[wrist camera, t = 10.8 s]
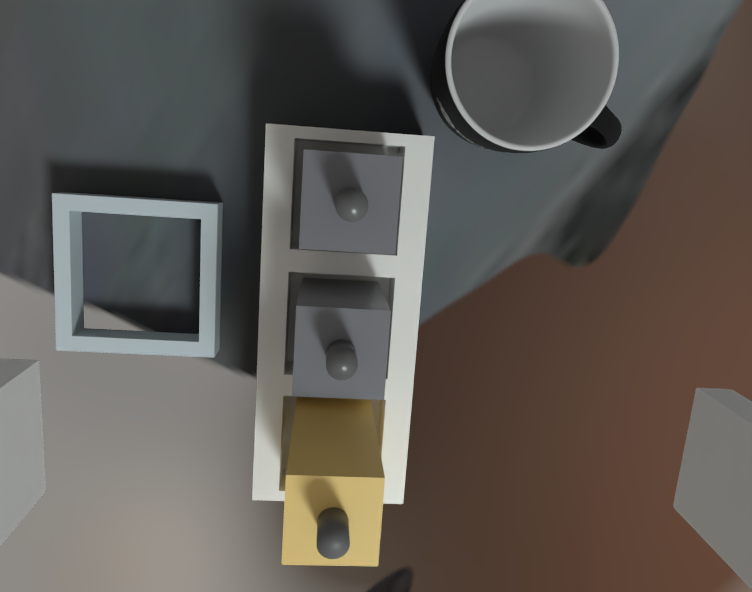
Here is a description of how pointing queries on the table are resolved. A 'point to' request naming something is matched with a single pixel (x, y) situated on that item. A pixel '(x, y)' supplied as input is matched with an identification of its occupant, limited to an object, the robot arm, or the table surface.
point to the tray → (71, 276)
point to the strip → (339, 266)
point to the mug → (528, 74)
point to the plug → (333, 485)
